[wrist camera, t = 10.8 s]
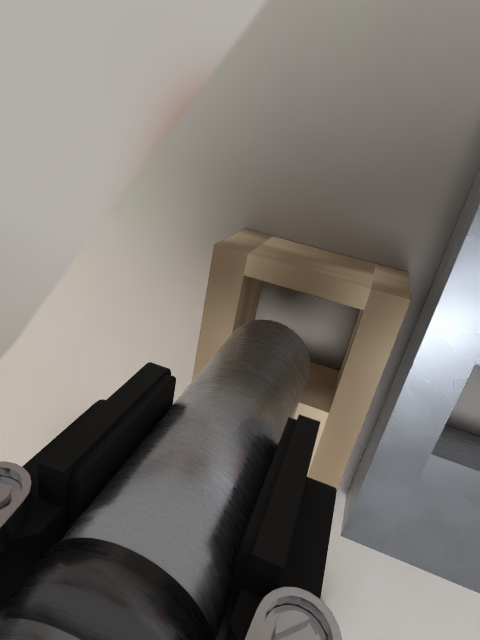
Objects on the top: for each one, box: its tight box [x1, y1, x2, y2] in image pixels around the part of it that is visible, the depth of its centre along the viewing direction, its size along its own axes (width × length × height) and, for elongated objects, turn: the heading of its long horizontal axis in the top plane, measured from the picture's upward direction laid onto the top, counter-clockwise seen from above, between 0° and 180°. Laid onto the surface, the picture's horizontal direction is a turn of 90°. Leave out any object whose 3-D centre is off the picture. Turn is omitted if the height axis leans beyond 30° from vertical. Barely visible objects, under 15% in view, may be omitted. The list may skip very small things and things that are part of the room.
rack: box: [192, 229, 411, 492], centre depth 16 cm, size 7×14×11 cm, turn 169°
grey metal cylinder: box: [0, 320, 310, 640], centre depth 10 cm, size 3×3×11 cm
